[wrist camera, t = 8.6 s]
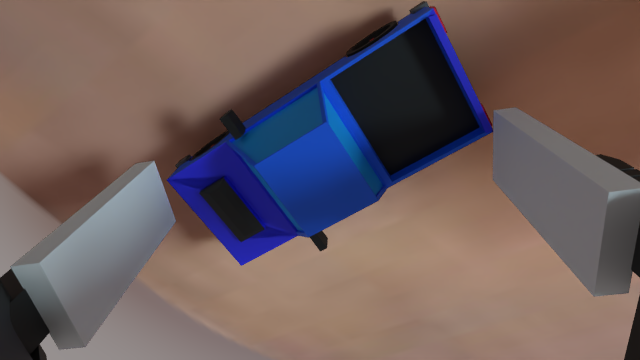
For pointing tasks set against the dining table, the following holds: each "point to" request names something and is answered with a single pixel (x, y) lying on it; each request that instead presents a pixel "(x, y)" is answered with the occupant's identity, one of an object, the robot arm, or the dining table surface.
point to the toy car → (335, 140)
